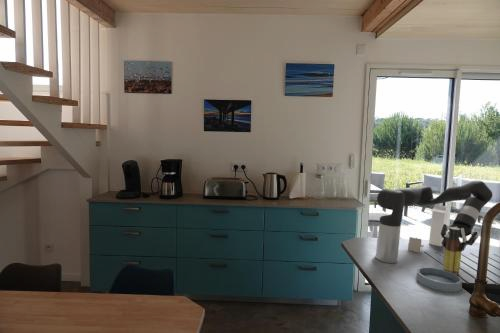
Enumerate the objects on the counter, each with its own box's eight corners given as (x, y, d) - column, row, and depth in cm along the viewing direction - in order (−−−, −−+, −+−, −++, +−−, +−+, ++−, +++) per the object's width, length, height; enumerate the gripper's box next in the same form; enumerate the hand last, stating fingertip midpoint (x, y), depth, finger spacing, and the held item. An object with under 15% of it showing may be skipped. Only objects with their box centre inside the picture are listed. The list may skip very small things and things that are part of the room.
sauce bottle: (457, 271, 148) (462, 227, 146) (460, 276, 142) (466, 231, 140) (440, 268, 150) (445, 225, 148) (443, 273, 144) (449, 229, 142)
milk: (440, 246, 181) (445, 207, 179) (428, 243, 186) (433, 205, 183) (443, 244, 186) (448, 205, 184) (431, 241, 190) (435, 203, 188)
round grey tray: (408, 274, 141) (409, 266, 141) (442, 274, 143) (443, 267, 143) (432, 291, 126) (433, 283, 126) (470, 291, 128) (471, 283, 127)
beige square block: (408, 249, 176) (409, 235, 175) (423, 252, 172) (424, 238, 172) (407, 250, 173) (409, 237, 172) (422, 254, 170) (424, 239, 169)
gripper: (486, 227, 146) (471, 258, 140) (451, 219, 157) (436, 248, 151) (483, 216, 142) (468, 248, 136) (447, 209, 154) (432, 238, 148)
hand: (451, 248), depth 144 cm, fingers closed on sauce bottle, 6 cm apart
